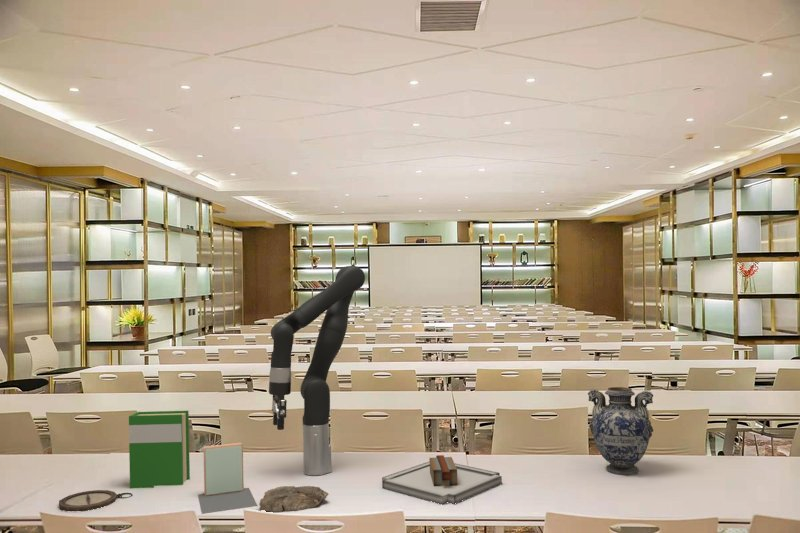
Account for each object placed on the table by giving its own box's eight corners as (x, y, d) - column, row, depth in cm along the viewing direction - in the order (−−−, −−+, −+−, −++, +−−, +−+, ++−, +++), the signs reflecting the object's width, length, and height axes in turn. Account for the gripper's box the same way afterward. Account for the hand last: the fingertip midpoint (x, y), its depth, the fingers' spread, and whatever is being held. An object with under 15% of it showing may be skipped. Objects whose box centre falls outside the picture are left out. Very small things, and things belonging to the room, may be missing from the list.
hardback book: (189, 480, 225) (188, 410, 226) (182, 486, 218) (181, 414, 219) (138, 481, 225) (137, 411, 226) (129, 488, 218) (128, 416, 219)
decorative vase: (586, 475, 218) (584, 391, 219) (592, 461, 235) (590, 383, 236) (655, 481, 210) (652, 394, 211) (656, 466, 227) (653, 385, 228)
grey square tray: (376, 488, 212) (376, 465, 212) (435, 467, 234) (435, 447, 234) (449, 508, 192) (448, 483, 192) (506, 483, 214) (505, 460, 214)
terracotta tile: (242, 488, 212) (241, 442, 212) (243, 491, 209) (242, 444, 210) (204, 493, 208) (203, 446, 208) (205, 496, 205) (204, 448, 206)
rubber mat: (248, 489, 213) (248, 487, 213) (257, 507, 195) (257, 505, 195) (197, 496, 207) (197, 494, 207) (201, 515, 190) (201, 513, 190)
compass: (46, 514, 196) (46, 507, 196) (73, 496, 212) (73, 490, 212) (113, 512, 196) (113, 505, 196) (135, 494, 212) (135, 488, 212)
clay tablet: (330, 496, 205) (266, 497, 205) (330, 480, 205) (266, 481, 205) (326, 513, 191) (258, 514, 191) (326, 496, 191) (258, 497, 191)
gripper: (294, 382, 222) (293, 431, 221) (287, 377, 235) (285, 423, 234) (272, 383, 219) (270, 431, 218) (266, 377, 232) (264, 423, 232)
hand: (278, 427), depth 226 cm, fingers open, 8 cm apart
